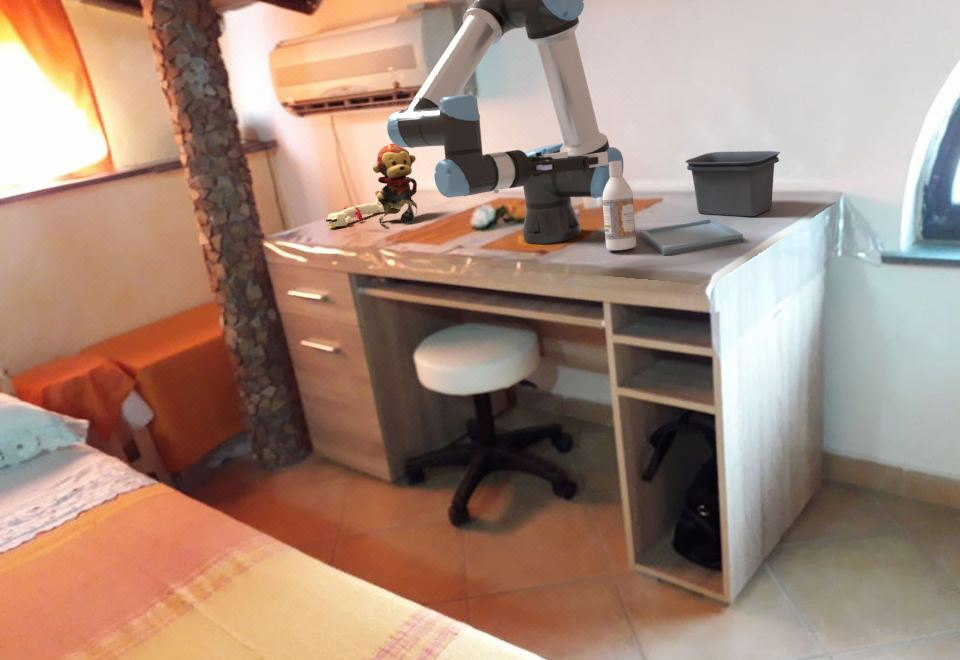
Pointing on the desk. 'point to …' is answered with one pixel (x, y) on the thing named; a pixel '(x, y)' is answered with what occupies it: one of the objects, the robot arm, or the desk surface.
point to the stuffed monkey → (396, 181)
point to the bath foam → (618, 210)
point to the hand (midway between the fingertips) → (586, 157)
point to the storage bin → (734, 182)
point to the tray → (690, 236)
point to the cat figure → (353, 213)
